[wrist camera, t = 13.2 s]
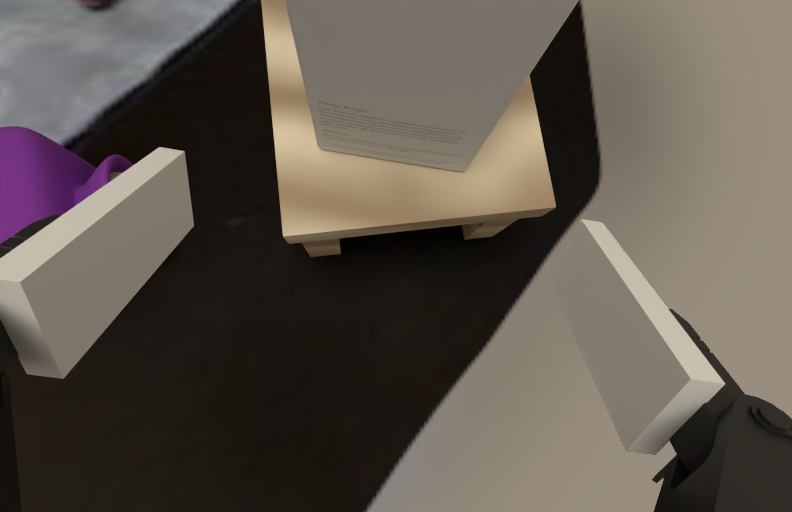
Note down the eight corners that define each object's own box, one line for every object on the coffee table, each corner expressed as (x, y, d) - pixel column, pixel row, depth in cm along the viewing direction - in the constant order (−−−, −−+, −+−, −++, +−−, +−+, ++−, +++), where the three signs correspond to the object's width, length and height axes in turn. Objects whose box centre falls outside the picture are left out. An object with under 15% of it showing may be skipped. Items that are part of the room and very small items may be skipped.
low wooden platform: (286, 79, 35) (259, -17, 25) (467, 68, 37) (508, -26, 27) (304, 264, 32) (283, 236, 23) (498, 241, 34) (556, 207, 25)
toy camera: (202, 261, 32) (133, 231, 22) (18, 343, 30) (-149, 351, 20) (148, 142, 33) (60, 63, 23) (-32, 212, 31) (-213, 158, 21)
